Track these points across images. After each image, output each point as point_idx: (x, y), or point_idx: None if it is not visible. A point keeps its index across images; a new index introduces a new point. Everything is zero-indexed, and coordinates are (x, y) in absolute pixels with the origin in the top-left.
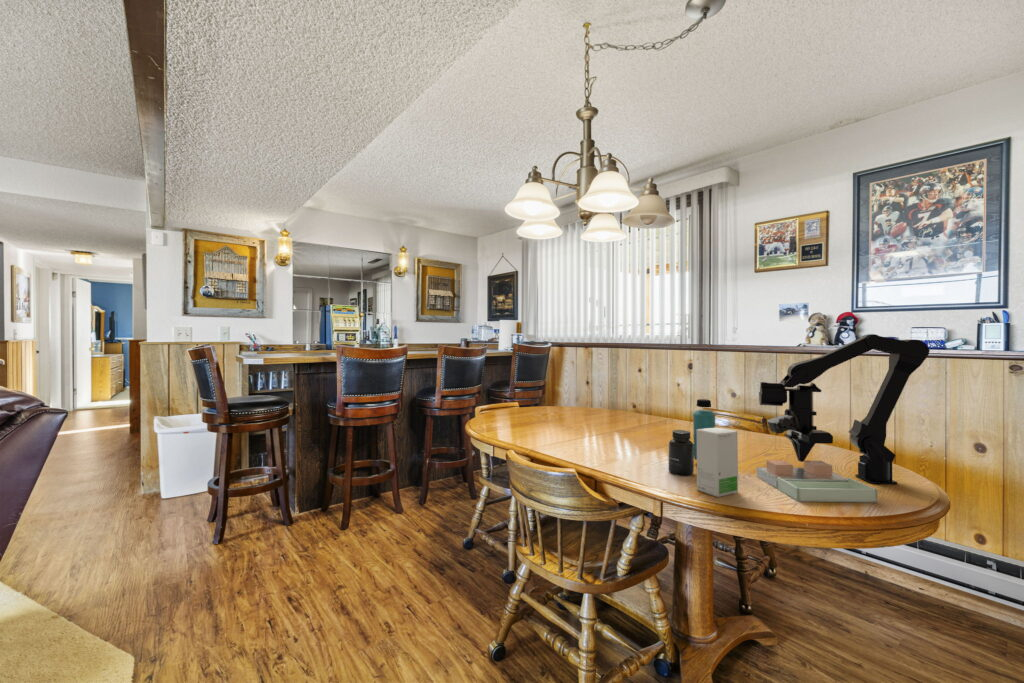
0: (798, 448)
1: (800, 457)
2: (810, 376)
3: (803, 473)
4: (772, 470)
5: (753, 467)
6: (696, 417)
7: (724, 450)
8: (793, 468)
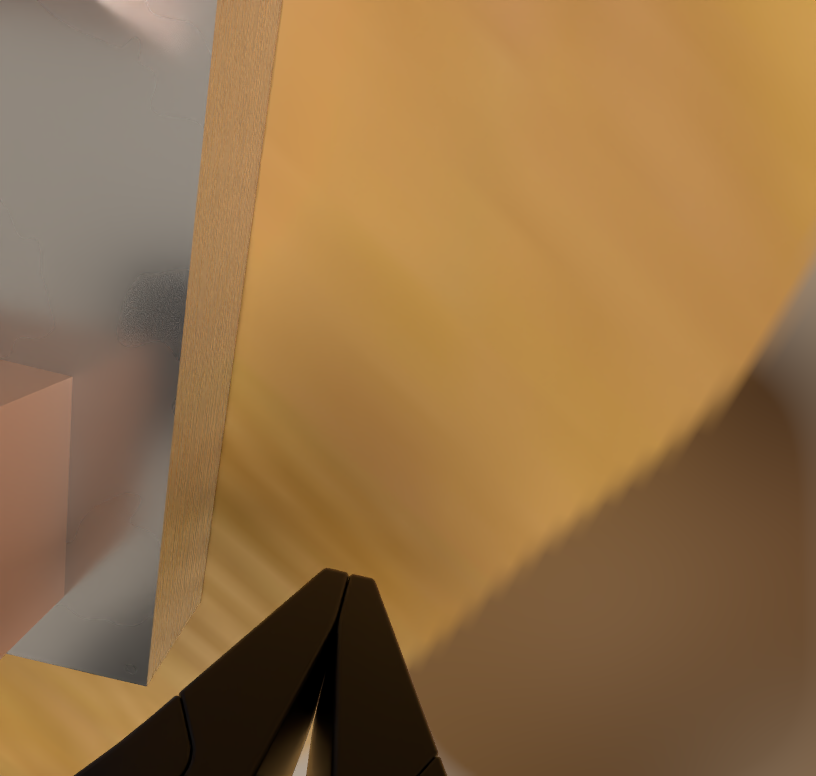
0: (182, 755)
1: (284, 611)
2: None
3: None
4: None
5: (810, 5)
6: None
7: None
8: (145, 257)
